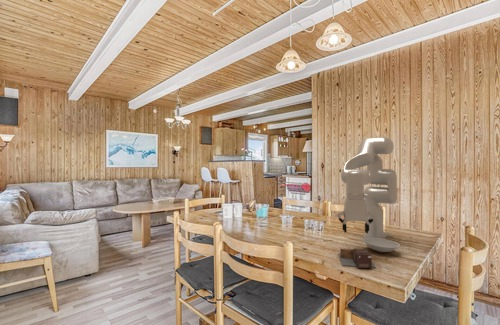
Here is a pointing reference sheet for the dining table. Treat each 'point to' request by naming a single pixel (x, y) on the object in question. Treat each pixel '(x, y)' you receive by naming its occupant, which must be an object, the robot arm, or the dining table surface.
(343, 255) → the walnut rail
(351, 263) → the rubber mat
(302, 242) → the dining table surface
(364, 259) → the box
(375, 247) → the dish
